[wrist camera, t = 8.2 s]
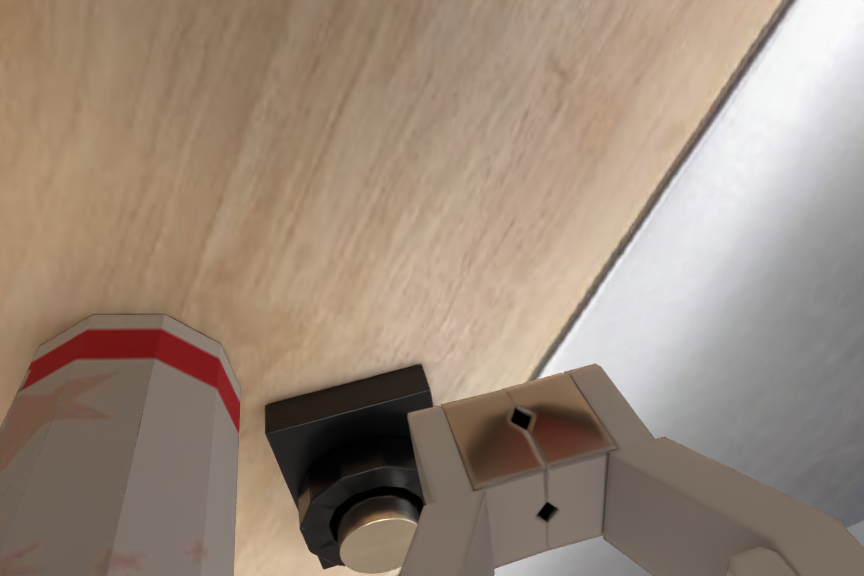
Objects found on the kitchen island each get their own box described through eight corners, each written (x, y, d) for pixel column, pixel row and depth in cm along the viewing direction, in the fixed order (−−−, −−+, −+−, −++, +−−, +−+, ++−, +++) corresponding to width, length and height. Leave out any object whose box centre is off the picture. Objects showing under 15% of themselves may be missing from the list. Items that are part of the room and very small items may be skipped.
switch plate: (320, 540, 33) (326, 604, 30) (264, 405, 27) (265, 467, 24) (449, 503, 33) (467, 561, 30) (421, 363, 28) (440, 419, 25)
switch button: (345, 547, 28) (350, 583, 27) (327, 498, 26) (330, 533, 25) (422, 525, 29) (430, 559, 27) (409, 475, 27) (418, 508, 25)
